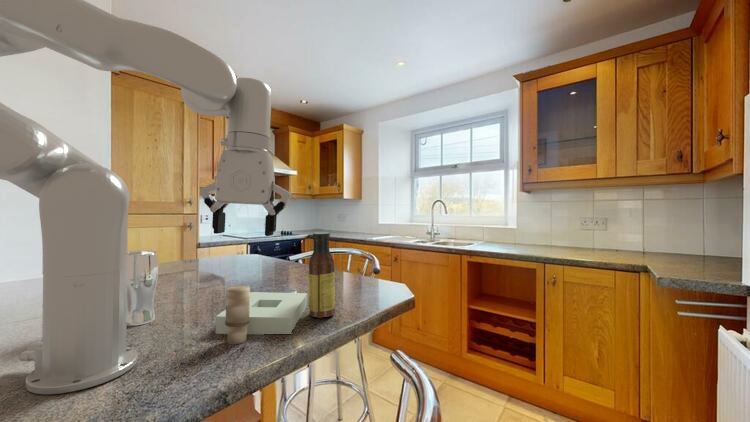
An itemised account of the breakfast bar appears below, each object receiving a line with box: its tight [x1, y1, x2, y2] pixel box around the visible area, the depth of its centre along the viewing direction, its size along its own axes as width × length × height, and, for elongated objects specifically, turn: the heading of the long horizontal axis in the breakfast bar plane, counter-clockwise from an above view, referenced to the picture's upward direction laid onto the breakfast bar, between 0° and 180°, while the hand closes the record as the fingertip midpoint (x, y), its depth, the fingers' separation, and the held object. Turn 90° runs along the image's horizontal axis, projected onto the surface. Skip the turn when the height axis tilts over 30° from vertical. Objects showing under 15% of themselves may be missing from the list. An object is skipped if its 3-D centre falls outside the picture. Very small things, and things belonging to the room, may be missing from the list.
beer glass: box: [126, 250, 159, 327], centre depth 69 cm, size 7×7×15 cm
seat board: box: [215, 291, 308, 335], centre depth 73 cm, size 15×18×4 cm
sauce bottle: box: [308, 231, 336, 319], centre depth 76 cm, size 6×6×20 cm
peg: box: [225, 285, 251, 345], centre depth 61 cm, size 4×4×10 cm
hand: (244, 234), depth 62 cm, fingers open, 9 cm apart
